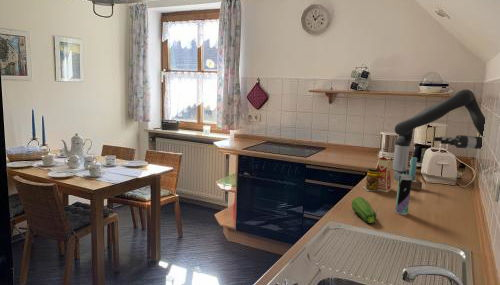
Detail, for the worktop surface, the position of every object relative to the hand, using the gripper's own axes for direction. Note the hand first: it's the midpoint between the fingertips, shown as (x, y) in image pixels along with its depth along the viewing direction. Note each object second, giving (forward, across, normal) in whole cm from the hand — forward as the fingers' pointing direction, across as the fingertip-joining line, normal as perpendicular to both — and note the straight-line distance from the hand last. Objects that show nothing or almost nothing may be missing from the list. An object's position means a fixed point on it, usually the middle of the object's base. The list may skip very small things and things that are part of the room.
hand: (437, 140), depth 225 cm
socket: (+14, +10, +27) cm, 32 cm away
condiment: (+40, +16, +28) cm, 52 cm away
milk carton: (+34, +15, +28) cm, 46 cm away
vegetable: (+57, +62, +27) cm, 88 cm away
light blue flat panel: (+15, +3, +26) cm, 30 cm away
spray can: (+37, +53, +27) cm, 71 cm away
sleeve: (+15, -7, +27) cm, 32 cm away
